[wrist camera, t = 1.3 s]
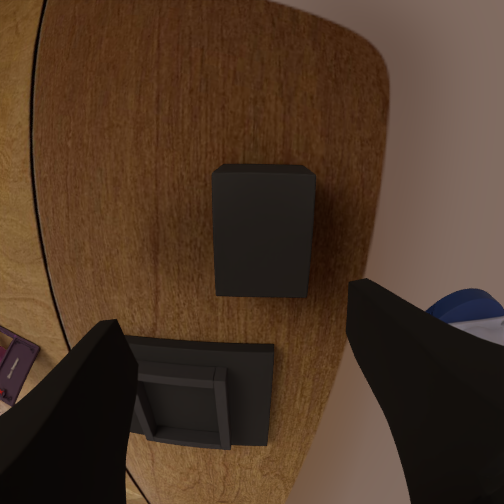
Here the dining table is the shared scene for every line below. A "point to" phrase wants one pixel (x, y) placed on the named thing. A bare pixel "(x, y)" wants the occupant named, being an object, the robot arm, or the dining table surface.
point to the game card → (15, 366)
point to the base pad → (202, 392)
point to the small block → (262, 229)
